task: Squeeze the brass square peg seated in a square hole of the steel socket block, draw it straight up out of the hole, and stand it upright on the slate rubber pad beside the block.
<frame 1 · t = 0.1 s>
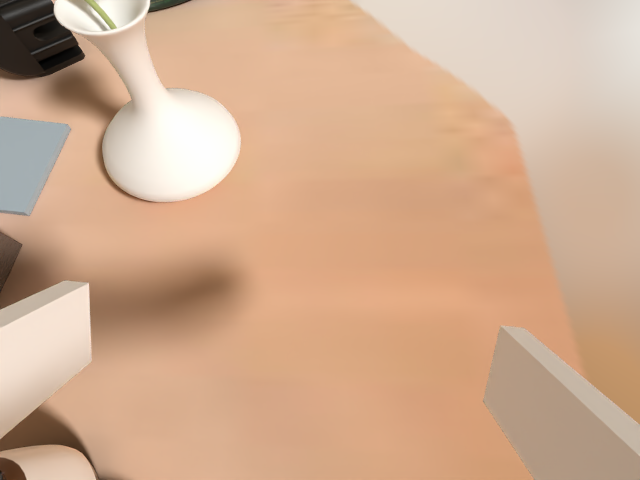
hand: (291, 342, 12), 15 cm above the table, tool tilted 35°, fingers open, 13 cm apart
end cap: (35, 49, 37), on the table
flower in vase: (171, 155, 33), on the table
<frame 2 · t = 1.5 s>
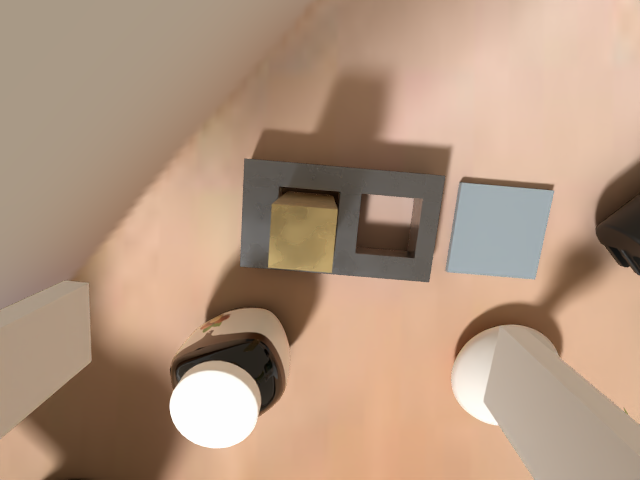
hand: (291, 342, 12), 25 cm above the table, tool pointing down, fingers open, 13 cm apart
end cap: (638, 213, 36), on the table
slate pad: (496, 231, 36), on the table
flower in vase: (499, 358, 39), on the table
spread jar: (242, 354, 40), on the table
brass peg: (308, 215, 36), resting in steel socket block
steel socket block: (338, 217, 36), on the table
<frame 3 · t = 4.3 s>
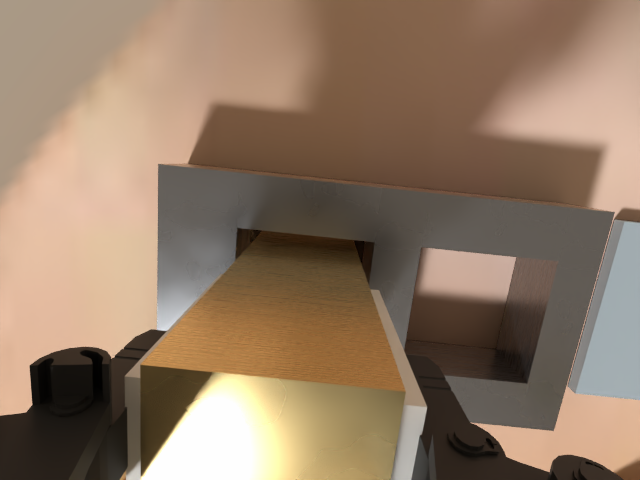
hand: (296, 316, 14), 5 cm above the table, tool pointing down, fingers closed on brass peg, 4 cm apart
brass peg: (304, 277, 18), resting in steel socket block, touching gripper
steel socket block: (363, 283, 18), on the table
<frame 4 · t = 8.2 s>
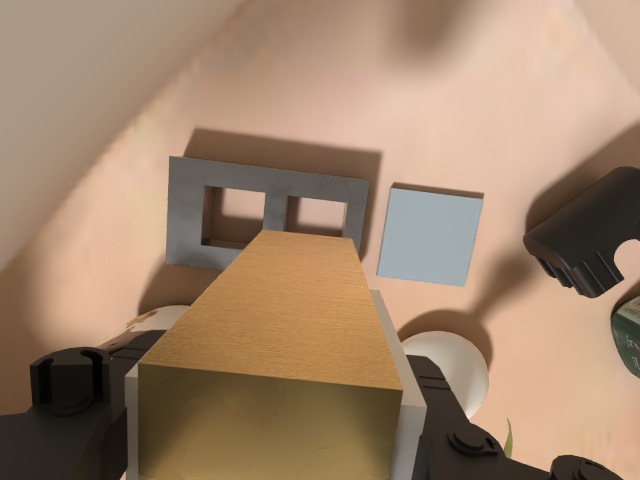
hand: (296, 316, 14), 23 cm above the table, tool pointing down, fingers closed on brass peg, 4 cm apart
end cap: (568, 224, 36), on the table
slate pad: (427, 237, 37), on the table
flower in vase: (430, 364, 40), on the table
spread jar: (175, 351, 40), on the table
brass peg: (303, 276, 18), point 19 cm above the table, touching gripper
steel socket block: (269, 218, 36), on the table
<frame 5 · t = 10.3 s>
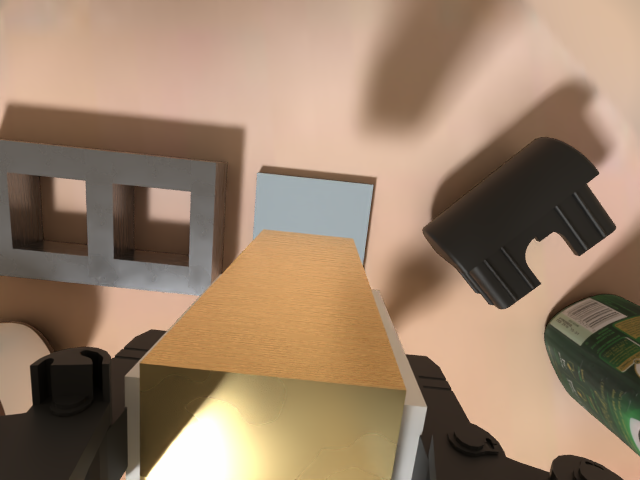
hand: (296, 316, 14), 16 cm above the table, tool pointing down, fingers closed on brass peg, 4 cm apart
end cap: (486, 215, 29), on the table
slate pad: (310, 234, 29), on the table
spread jar: (18, 377, 33), on the table
brass peg: (304, 276, 18), point 11 cm above the table, touching gripper
steel socket block: (113, 213, 29), on the table
coffee jar: (589, 342, 31), on the table
when the fingers open (7 cm above the table, at t = 12.1 s): brass peg drops 2 cm, resting on slate pad.
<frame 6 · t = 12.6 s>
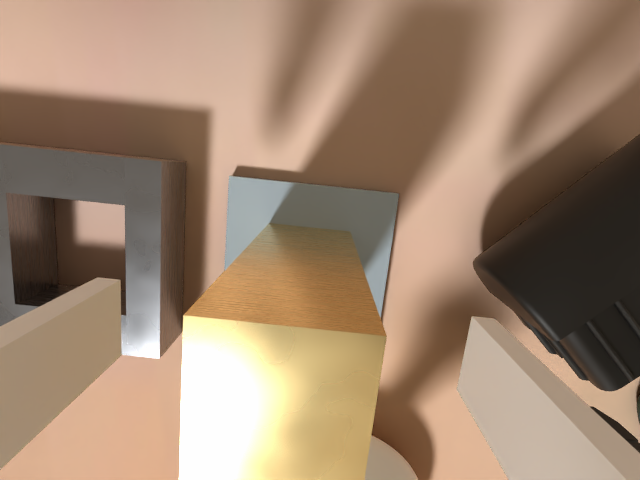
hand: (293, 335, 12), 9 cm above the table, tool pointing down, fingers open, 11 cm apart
end cap: (559, 236, 20), on the table
slate pad: (306, 263, 21), on the table
flower in vase: (332, 471, 24), on the table
brass peg: (305, 266, 20), point 1 cm above the table, touching slate pad
steel socket block: (25, 234, 20), on the table
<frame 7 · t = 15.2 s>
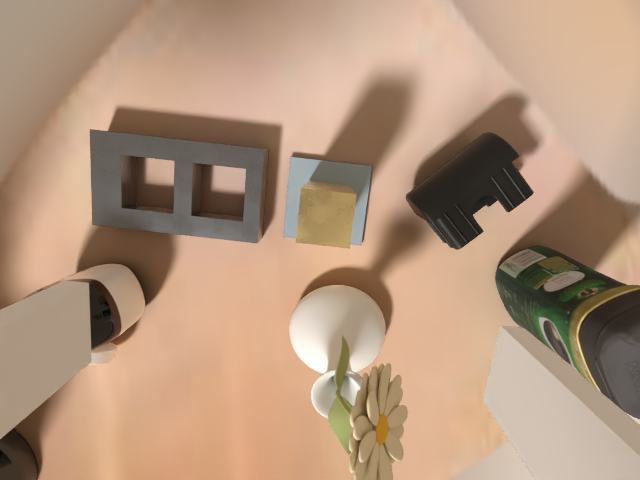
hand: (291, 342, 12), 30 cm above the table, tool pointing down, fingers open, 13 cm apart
end cap: (453, 188, 41), on the table
slate pad: (326, 201, 41), on the table
flower in vase: (338, 317, 44), on the table
spread jar: (111, 307, 45), on the table
brass peg: (326, 201, 40), point 1 cm above the table, touching slate pad
steel socket block: (186, 185, 41), on the table
coffee jar: (529, 283, 43), on the table
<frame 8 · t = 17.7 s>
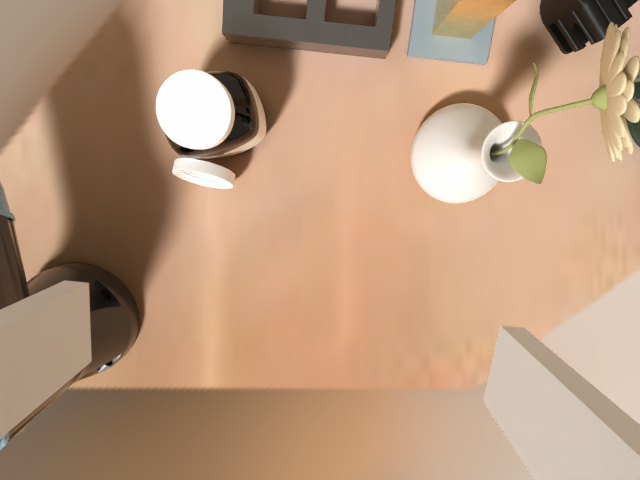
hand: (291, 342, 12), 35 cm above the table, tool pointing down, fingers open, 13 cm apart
end cap: (580, 2, 40), on the table
slate pad: (452, 17, 41), on the table
flower in vase: (455, 148, 44), on the table
spread jar: (225, 140, 44), on the table
brass peg: (454, 15, 40), point 1 cm above the table, touching slate pad
steel socket block: (311, 2, 41), on the table
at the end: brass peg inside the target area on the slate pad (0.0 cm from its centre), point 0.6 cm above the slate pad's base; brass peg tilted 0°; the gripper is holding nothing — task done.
